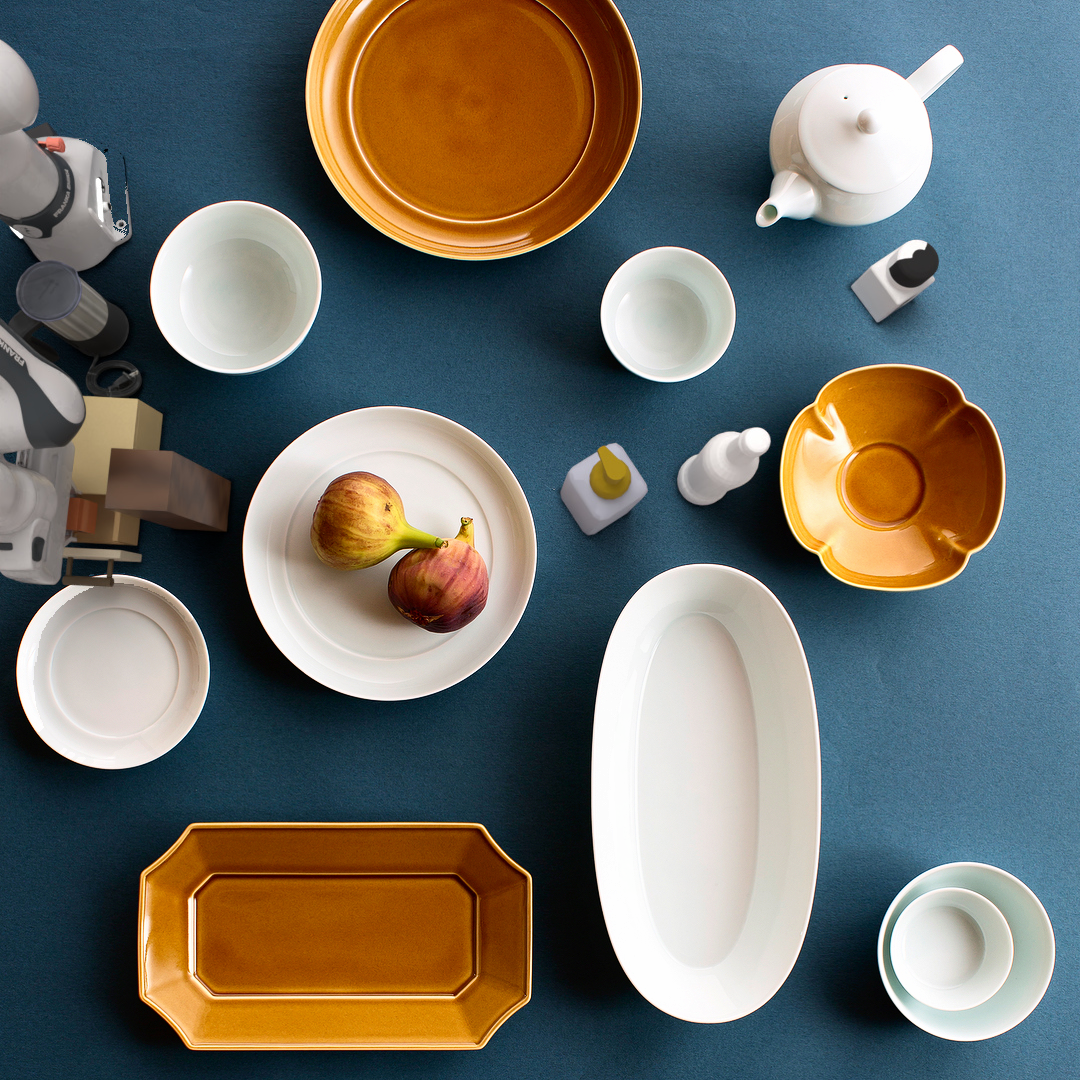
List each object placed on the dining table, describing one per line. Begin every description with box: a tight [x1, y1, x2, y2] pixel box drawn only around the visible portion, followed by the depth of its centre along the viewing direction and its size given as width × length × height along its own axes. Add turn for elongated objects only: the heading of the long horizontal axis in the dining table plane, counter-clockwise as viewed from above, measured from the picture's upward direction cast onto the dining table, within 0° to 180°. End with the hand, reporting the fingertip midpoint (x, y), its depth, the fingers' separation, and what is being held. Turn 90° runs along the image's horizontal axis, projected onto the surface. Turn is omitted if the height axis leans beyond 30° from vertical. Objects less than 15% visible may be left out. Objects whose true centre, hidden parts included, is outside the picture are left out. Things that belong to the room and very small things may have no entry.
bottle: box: [676, 426, 771, 506], centre depth 114 cm, size 8×8×30 cm
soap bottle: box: [559, 442, 649, 536], centre depth 115 cm, size 9×9×25 cm
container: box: [850, 239, 940, 323], centre depth 127 cm, size 8×8×13 cm
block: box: [66, 498, 98, 534], centre depth 113 cm, size 4×4×5 cm
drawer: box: [61, 494, 143, 588], centre depth 119 cm, size 18×11×7 cm, turn 177°
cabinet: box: [72, 395, 164, 495], centre depth 121 cm, size 15×13×9 cm
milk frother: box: [7, 260, 143, 398], centre depth 119 cm, size 14×16×15 cm
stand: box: [105, 448, 232, 533], centre depth 114 cm, size 8×8×22 cm
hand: (74, 516), depth 114 cm, fingers closed on block, 4 cm apart
